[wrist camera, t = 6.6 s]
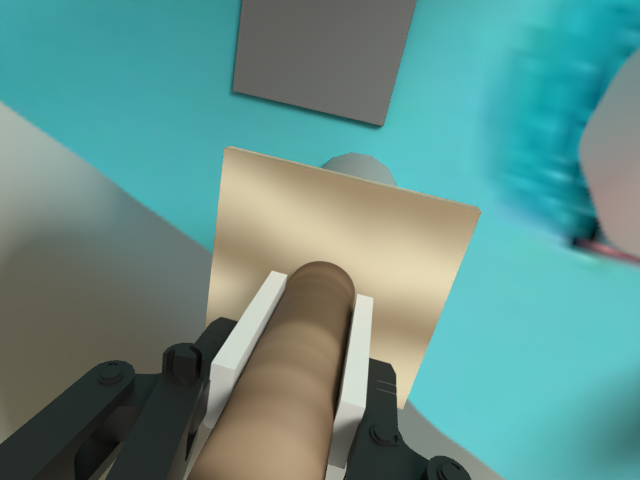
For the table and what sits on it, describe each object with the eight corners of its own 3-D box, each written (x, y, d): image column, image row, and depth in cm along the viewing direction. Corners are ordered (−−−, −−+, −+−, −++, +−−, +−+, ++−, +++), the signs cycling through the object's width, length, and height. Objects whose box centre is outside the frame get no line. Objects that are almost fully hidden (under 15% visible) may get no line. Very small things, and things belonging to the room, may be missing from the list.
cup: (306, 227, 38) (280, 269, 29) (317, 146, 35) (292, 165, 26) (388, 243, 38) (388, 292, 28) (407, 162, 34) (414, 187, 25)
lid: (230, 145, 18) (1, 221, 7) (477, 206, 17) (627, 394, 6) (208, 342, 23) (46, 566, 12) (402, 398, 22) (416, 695, 11)
